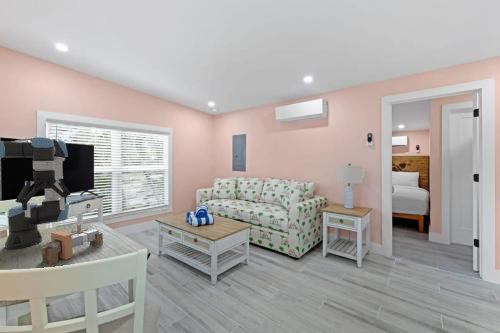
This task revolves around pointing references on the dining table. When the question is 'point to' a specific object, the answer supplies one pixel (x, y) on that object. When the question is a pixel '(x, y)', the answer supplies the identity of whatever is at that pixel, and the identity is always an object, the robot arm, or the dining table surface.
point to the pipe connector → (78, 230)
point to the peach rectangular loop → (63, 243)
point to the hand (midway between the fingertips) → (46, 213)
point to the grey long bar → (75, 239)
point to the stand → (52, 253)
